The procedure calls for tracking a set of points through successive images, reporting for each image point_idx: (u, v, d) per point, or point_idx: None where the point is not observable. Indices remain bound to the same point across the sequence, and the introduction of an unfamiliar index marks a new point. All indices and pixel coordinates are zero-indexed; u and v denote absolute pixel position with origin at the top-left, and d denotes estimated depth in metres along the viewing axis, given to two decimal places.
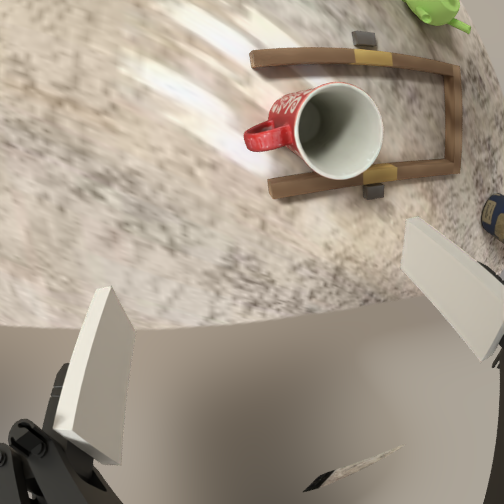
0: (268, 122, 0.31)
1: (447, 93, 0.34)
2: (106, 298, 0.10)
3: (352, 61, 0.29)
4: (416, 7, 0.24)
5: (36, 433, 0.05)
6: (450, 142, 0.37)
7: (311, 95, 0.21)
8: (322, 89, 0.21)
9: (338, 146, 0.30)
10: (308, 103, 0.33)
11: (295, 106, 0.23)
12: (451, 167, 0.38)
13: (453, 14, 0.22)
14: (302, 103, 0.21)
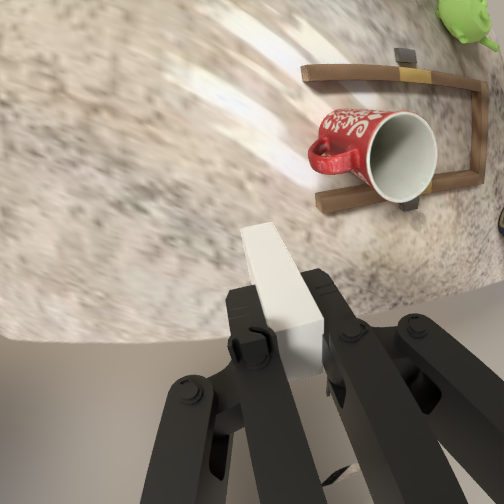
0: (323, 139, 0.31)
1: (474, 108, 0.33)
2: (258, 233, 0.13)
3: (397, 79, 0.29)
4: (452, 25, 0.24)
5: None
6: (476, 155, 0.37)
7: (382, 123, 0.21)
8: (391, 117, 0.21)
9: (389, 166, 0.30)
10: None
11: (363, 131, 0.23)
12: (476, 178, 0.38)
13: (485, 34, 0.21)
14: (375, 131, 0.21)
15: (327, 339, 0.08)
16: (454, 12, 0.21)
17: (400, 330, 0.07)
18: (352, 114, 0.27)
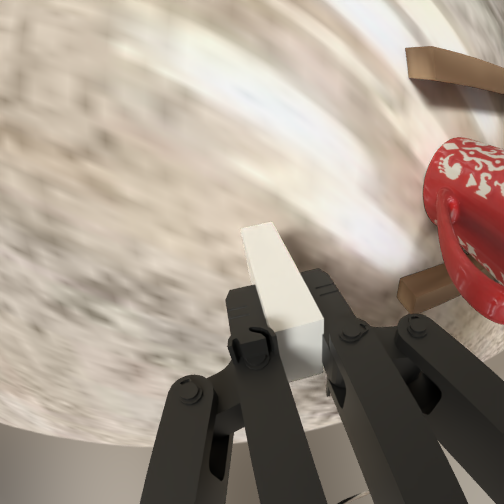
0: (450, 203, 0.14)
1: None
2: (258, 233, 0.13)
3: None
4: None
5: None
6: None
7: None
8: None
9: None
10: None
11: None
12: None
13: None
14: None
15: (327, 339, 0.08)
16: None
17: (400, 330, 0.07)
18: None
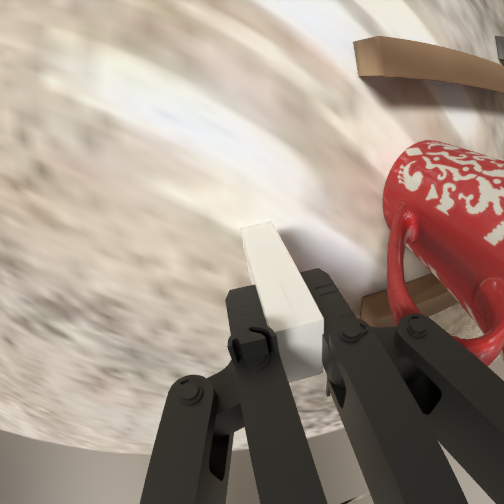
0: (406, 219, 0.13)
1: None
2: (258, 233, 0.13)
3: None
4: None
5: None
6: None
7: None
8: None
9: None
10: None
11: None
12: None
13: None
14: None
15: (327, 339, 0.08)
16: None
17: (400, 330, 0.07)
18: (484, 174, 0.09)
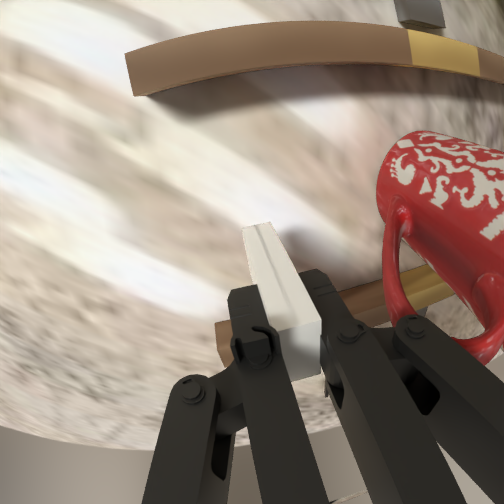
0: (400, 214, 0.13)
1: None
2: (260, 233, 0.13)
3: (405, 60, 0.10)
4: None
5: None
6: None
7: None
8: None
9: None
10: None
11: None
12: None
13: None
14: None
15: (325, 340, 0.08)
16: None
17: (398, 331, 0.07)
18: (478, 165, 0.09)
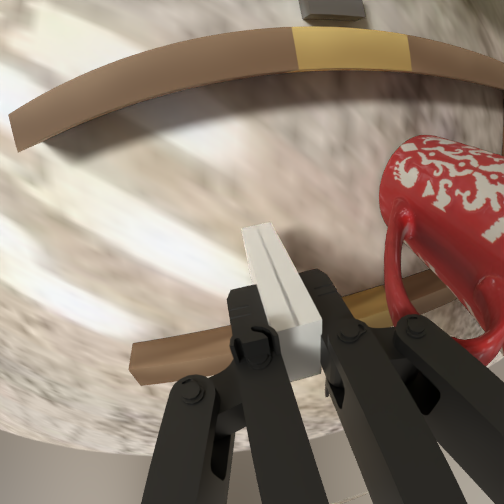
0: (403, 217, 0.13)
1: None
2: (259, 233, 0.13)
3: (287, 66, 0.10)
4: None
5: None
6: None
7: None
8: None
9: None
10: None
11: None
12: None
13: None
14: None
15: (325, 339, 0.08)
16: None
17: (398, 331, 0.07)
18: (480, 169, 0.09)
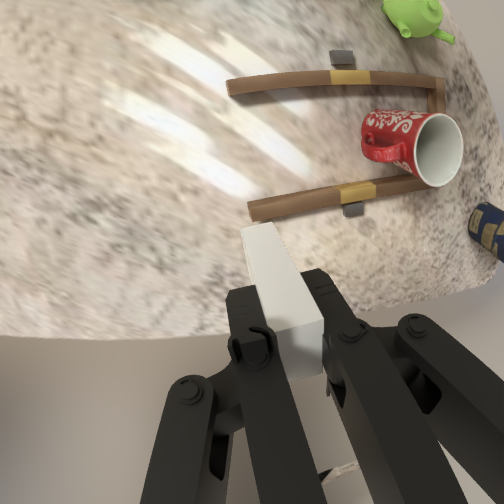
0: (369, 134, 0.34)
1: (430, 106, 0.36)
2: (258, 233, 0.13)
3: (328, 83, 0.31)
4: (397, 20, 0.26)
5: None
6: None
7: (425, 122, 0.25)
8: (431, 118, 0.25)
9: (422, 158, 0.33)
10: None
11: (409, 128, 0.27)
12: None
13: (435, 25, 0.24)
14: (420, 128, 0.25)
15: (327, 339, 0.08)
16: (397, 6, 0.24)
17: (400, 330, 0.07)
18: (394, 114, 0.31)
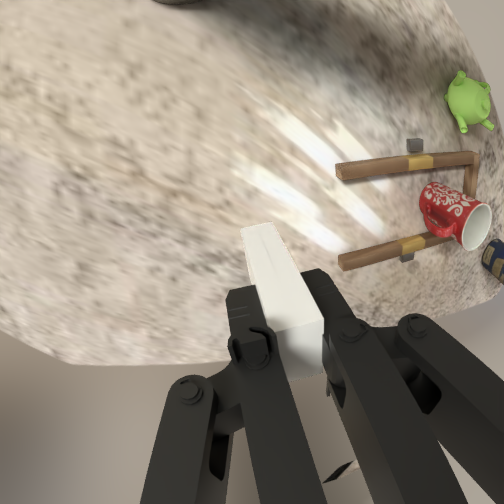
0: (427, 207, 0.46)
1: (466, 175, 0.47)
2: (258, 233, 0.13)
3: (406, 170, 0.42)
4: (456, 113, 0.37)
5: None
6: None
7: (472, 212, 0.36)
8: (475, 207, 0.36)
9: None
10: None
11: (460, 213, 0.38)
12: None
13: (483, 119, 0.35)
14: (468, 216, 0.36)
15: (327, 339, 0.08)
16: (460, 103, 0.35)
17: (400, 330, 0.07)
18: (448, 195, 0.42)
